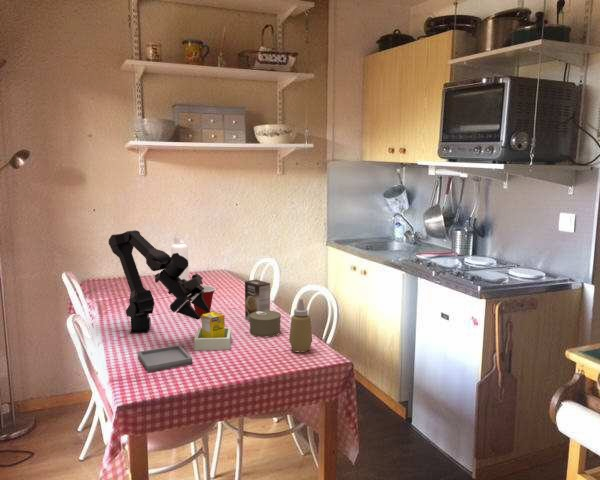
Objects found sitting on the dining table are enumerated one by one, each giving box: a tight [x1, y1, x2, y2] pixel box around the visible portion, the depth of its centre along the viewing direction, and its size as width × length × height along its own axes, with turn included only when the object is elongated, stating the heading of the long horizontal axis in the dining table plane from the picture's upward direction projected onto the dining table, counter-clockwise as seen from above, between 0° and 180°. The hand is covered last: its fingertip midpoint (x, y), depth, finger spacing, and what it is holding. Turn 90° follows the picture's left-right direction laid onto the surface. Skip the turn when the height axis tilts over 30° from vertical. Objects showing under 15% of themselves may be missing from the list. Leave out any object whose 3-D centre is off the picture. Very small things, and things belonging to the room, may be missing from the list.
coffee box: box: [244, 279, 271, 322], centre depth 212 cm, size 9×6×16 cm
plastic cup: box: [193, 284, 216, 318], centre depth 219 cm, size 11×11×12 cm
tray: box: [137, 344, 193, 373], centre depth 169 cm, size 14×14×2 cm
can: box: [249, 310, 282, 338], centre depth 198 cm, size 12×12×7 cm
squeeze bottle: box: [288, 298, 313, 353], centre depth 178 cm, size 8×8×18 cm
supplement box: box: [201, 311, 226, 338], centre depth 184 cm, size 6×6×11 cm
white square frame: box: [194, 327, 232, 351], centre depth 185 cm, size 12×12×4 cm
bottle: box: [170, 235, 190, 281], centre depth 254 cm, size 8×8×28 cm
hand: (203, 315), depth 184 cm, fingers open, 9 cm apart
